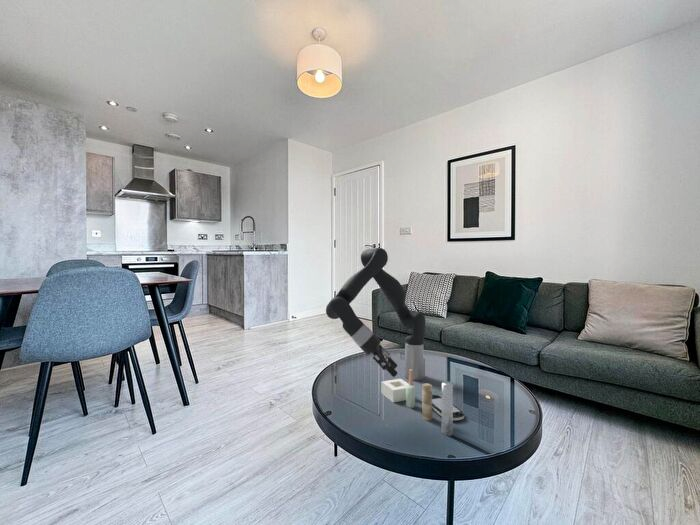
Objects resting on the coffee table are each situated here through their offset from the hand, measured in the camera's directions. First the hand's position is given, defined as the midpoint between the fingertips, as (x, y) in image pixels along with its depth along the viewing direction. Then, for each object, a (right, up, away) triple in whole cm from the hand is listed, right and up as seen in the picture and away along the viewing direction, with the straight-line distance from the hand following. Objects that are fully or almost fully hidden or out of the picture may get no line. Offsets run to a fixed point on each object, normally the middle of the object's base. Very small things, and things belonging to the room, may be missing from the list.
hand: (395, 371), depth 110 cm
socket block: (+3, -17, +17) cm, 24 cm away
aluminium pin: (+15, -16, -12) cm, 25 cm away
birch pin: (+11, -17, -2) cm, 20 cm away
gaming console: (+19, -17, +5) cm, 26 cm away
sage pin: (+7, -17, +7) cm, 20 cm away
